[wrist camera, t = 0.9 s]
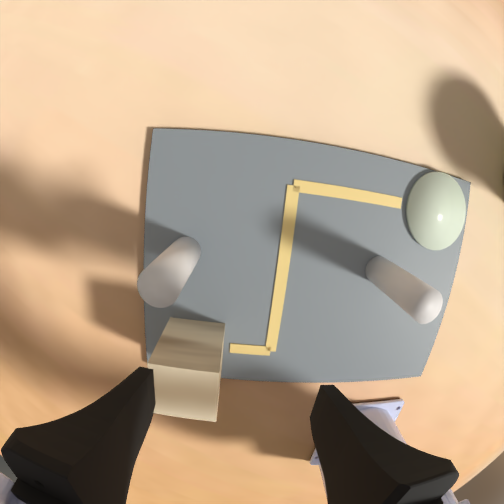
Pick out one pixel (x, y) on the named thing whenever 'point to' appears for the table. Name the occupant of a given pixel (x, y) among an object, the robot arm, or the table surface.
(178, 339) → the block
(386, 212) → the board
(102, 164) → the table surface
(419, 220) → the pad
